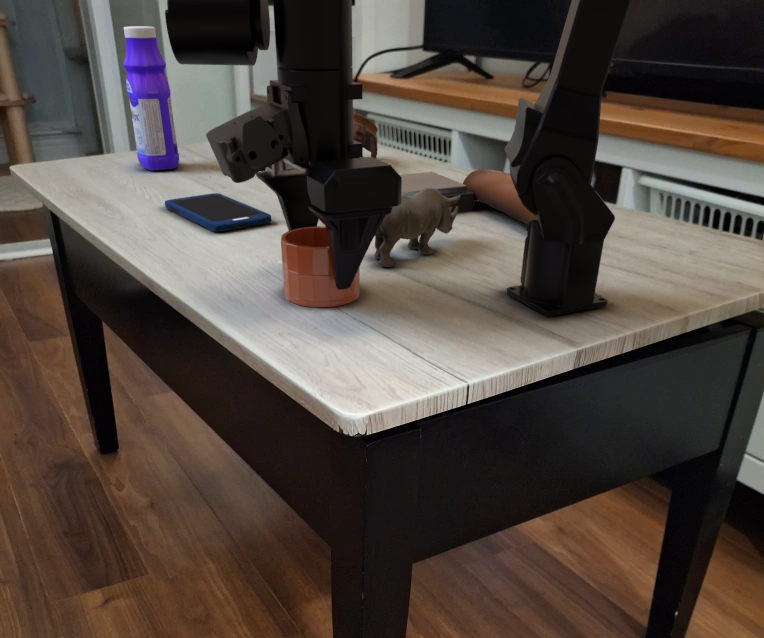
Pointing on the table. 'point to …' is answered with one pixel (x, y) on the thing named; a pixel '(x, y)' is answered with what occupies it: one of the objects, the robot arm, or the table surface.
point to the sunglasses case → (497, 193)
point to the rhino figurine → (414, 223)
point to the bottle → (149, 100)
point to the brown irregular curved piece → (365, 133)
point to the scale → (436, 181)
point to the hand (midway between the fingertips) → (322, 272)
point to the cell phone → (217, 212)
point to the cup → (312, 270)
